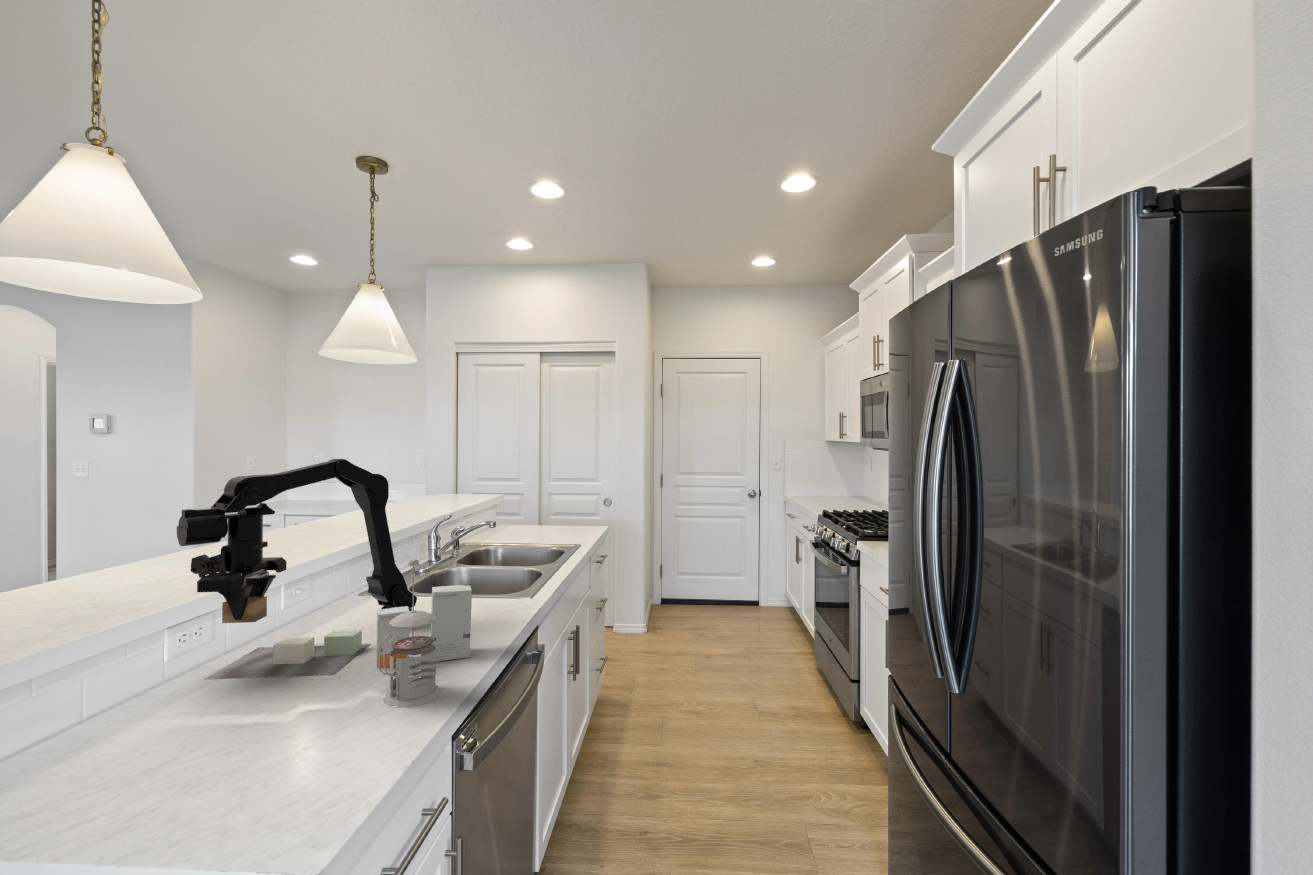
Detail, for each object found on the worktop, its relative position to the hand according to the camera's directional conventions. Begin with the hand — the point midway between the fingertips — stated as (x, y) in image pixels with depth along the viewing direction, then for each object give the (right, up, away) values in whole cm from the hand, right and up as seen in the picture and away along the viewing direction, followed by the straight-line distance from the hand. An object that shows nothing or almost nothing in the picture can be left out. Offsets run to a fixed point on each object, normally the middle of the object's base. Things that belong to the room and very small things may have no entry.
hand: (245, 616), depth 112 cm
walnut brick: (0, -1, 0) cm, 1 cm away
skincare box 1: (+28, -12, +3) cm, 31 cm away
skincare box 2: (+38, -12, +10) cm, 41 cm away
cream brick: (+7, -11, +4) cm, 13 cm away
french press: (+37, -12, -10) cm, 41 cm away
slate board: (+7, -12, +4) cm, 14 cm away
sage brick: (+15, -11, +9) cm, 20 cm away
